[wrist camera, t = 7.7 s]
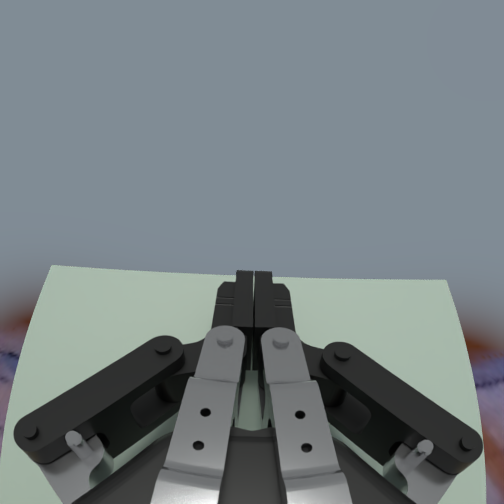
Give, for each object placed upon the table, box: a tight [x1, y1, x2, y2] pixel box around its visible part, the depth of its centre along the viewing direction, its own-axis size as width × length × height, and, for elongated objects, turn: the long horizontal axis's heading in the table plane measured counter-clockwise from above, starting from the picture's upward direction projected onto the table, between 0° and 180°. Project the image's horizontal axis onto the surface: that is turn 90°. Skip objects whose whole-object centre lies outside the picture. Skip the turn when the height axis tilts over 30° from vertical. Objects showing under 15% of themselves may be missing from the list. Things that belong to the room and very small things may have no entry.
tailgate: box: [0, 265, 486, 504], centre depth 12 cm, size 2×22×14 cm
